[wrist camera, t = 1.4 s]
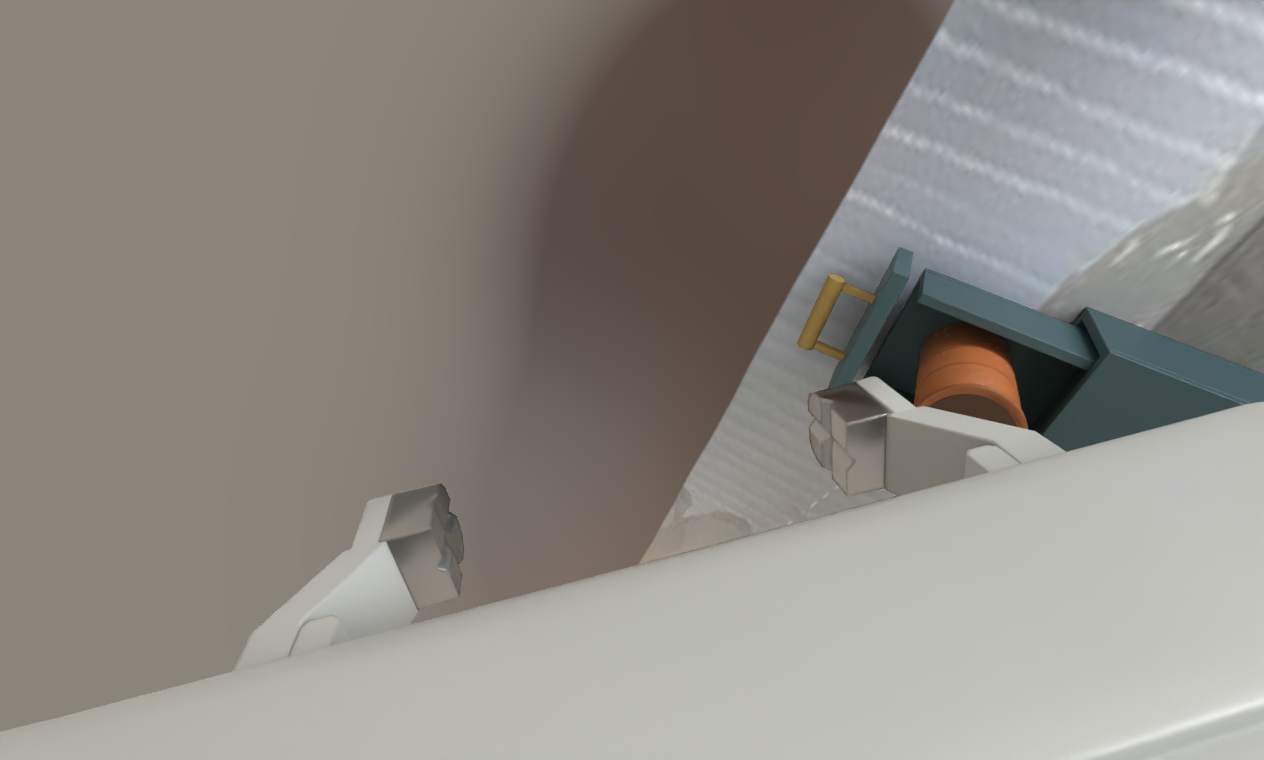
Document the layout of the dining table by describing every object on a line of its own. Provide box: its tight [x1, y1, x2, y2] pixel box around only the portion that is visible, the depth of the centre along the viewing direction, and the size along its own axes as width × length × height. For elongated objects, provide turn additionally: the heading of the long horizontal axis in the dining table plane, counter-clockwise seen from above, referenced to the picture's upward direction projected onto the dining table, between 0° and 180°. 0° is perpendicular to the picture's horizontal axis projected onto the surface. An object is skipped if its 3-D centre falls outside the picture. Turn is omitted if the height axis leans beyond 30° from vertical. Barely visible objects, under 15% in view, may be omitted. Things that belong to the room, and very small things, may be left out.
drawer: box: [797, 247, 1100, 433], centre depth 49 cm, size 20×12×7 cm, turn 74°
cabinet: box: [1039, 307, 1264, 452], centre depth 45 cm, size 18×14×9 cm
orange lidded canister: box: [914, 322, 1028, 429], centre depth 45 cm, size 7×7×12 cm
